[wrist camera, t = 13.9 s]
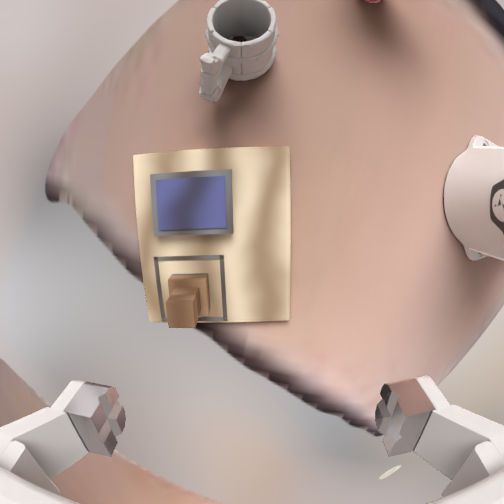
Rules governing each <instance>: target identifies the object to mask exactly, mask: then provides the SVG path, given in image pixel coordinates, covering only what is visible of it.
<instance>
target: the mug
mask: <svg viewBox="0 0 504 504" xmlns="http://www.w3.org/2000/svg"><path fill="white" fill-rule="evenodd" d="M236 36H243V37H244V38H245V39H247V40H248V41H246V42H236V41H232V38H233V37H236ZM278 36H279V33H278V29H277V26H276V14H275V12H274V10H273V8H271V6H270V5H269V4H268V3H267V2H265V1H261V0H220V1H219V2H217V3H216V5H215V6H214V8H211V10H210V11H209V14H208V16H207V29H206V39H207V42H208V45H209V48H208V53H206V54H203V55H202V56H201V57H200V61H201V63H202V69H201V78H200V85H201V88H200V89H199V94H200V96H201V97H203V99H205V100H207V101H209V102H216V101H218V100H219V99H220V97H221V95H222V93H223V90H224V88H225V85H226V83H227V81H228V79H232V80H236V81H241V80H242V81H248V80H249V79H255V78H257V77H259V76H261V75H262V74H264V73H265V72H266V71H267V70H268V69H269V68H270V67H271V65H272V64H273V62H274V59H275V55H276V48H275V44H276V40H277V37H278Z"/></svg>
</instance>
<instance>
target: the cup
mask: <svg viewBox="0 0 504 504" xmlns="http://www.w3.org/2000/svg"><path fill="white" fill-rule="evenodd" d="M363 1H366V2H369V3H378V2H380V1H381V0H363Z"/></svg>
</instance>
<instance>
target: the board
mask: <svg viewBox="0 0 504 504" xmlns="http://www.w3.org/2000/svg"><path fill="white" fill-rule="evenodd" d="M133 158H134V184H135V202H136V216H137V228H138V239H139V249H140V258H141V266H142V274H143V282H144V289H145V296H146V302H147V309H148V315H149V321H150V322H168V318H167V311H166V301H167V300H168V298H169V288H168V279H169V278H170V276H171V275H172V274H193V273H208V279H209V293H210V306H211V307H210V311H209V315H208V316H199V318H198V321H197V323H216V322H259V321H283V320H289V311H290V153H289V147H233V148H211V149H195V150H182V151H170V152H159V153H149V154H140V155H133Z"/></svg>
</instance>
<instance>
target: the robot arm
mask: <svg viewBox="0 0 504 504" xmlns="http://www.w3.org/2000/svg"><path fill="white" fill-rule="evenodd" d="M444 208H445V214H446V218H447V221H448V224H449V226H450V228H451V230H452V232H453V234H454V235H455V236H456V238H457V239H458V240H459V241H460V242H461V243H462V244H463V246H464V249H465V252H466V255H467V257H468V259H470V260H473V261H476V260H479V259H482V258H485V257H487V256H491V257H494V258H497V259H500V260H503V261H504V147H499V146H497V145H496V144H494V143H492V142H491V141H489V140H487V139H485V138H484V137H482V136H478V135H475V136H473V137H472V139H471V141H470V143H469V145H468V148H467V149H466V150H465V151H464V152H463V153H461V154H460V155H459V156H458V157H457V158H456V159H455V161H454V162H453V164H452V165H451V167H450V169H449V172H448V174H447V178H446V182H445V188H444ZM380 395H381V397H382V400H381V401H380V402H379V403H378V404H377V407H376V411H375V421H376V426H377V428H378V431H379V432H380V433H382V434H384V435H385V437H384V440H383V443H384V446H385V448H386V451H387V453H388V456H394V455H399V454H403V453H407V452H411V451H414V453H415V454H417V455H418V456H419V457H420V458H422V459H423V460H425V461H426V462H427V463H429V464H430V465H432V466H433V467H434V468H436V469H437V470H438V471H440V472H441V473H442V474H444V475H445V476H447V477H448V478H450V479H451V480H452V481H451V482H450V483H449V485H448V486H447V487H446V489H445V490H444V491H443V493H442V496H443V498H440V499H438V500H435V501H432V502H430V503H427V504H504V426H503V425H501V424H499V423H496V422H494V421H491V420H489V419H487V418H484V417H482V416H480V415H477V414H475V413H473V412H470V411H468V410H466V409H464V408H461V407H459V406H457V405H450V404H449V403H448V401H447V400H446V398H445V397H444V395H443V394H442V393H441V391H440V390H439V389H438V387H437V386H436V384H435V383H434V382H433V380H432V379H431V378H430V377H429V376H428V375H424V376H420V377H416V378H413V379H407V380H402V381H397V382H392V383H386V384H384V385H383V387H382V389H381V392H380ZM118 397H119V395H118V393H117V390H116V388H114V387H112V386H107V385H101V384H96V383H91V382H84V381H80V380H73V381H71V382H70V383H69V385H68V386H67V387H66V389H65V390H64V391H63V392H62V394H61V395H60V396H59V397H58V399H57V400H56V401H55V403H54V404H53V405H52V407H51V408H48V407H46V408H44V409H42V410H39V411H37V412H35V413H33V414H30V415H28V416H26V417H24V418H21V419H19V420H17V421H14V422H12V423H10V424H7V425H5V426H3V427H0V504H80V503H78V502H75V501H72V500H70V499H67V498H65V497H62V496H60V495H59V494H60V491H59V489H58V488H57V486H56V485H55V484H54V483H53V482H52V481H51V479H53V478H54V477H56V476H57V475H59V474H60V473H61V472H63V471H64V470H66V469H67V468H68V467H70V466H71V465H73V464H74V463H75V462H77V461H78V460H80V459H81V458H82V457H84V456H85V455H86V454H88V452H92V453H96V454H101V455H105V456H110V457H111V456H112V453H113V451H114V449H115V447H116V445H117V439H116V436H118V435H119V434H121V433H122V431H123V429H124V427H125V420H126V417H125V411H124V408H123V406H122V405H121V404H120V403H119V402H118V401H117V399H118Z"/></svg>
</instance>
